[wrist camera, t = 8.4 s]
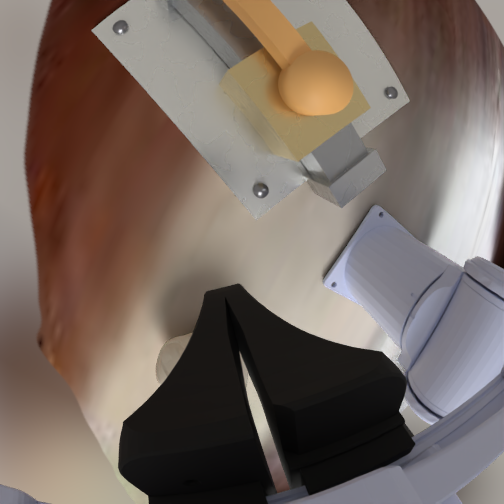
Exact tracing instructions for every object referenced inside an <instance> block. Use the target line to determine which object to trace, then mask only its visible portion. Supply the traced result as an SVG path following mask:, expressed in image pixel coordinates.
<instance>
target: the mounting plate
mask: <svg viewBox="0 0 504 504" xmlns="http://www.w3.org/2000/svg"><path fill="white" fill-rule="evenodd" d="M271 1H272V3H273V4H274V5H275V6H276V7H277V8H278V9H279V10H280V12H281V13H282V14H283V15H284V16H285V17H286V19H287V20H288V21H289V22H290V23H291V25H292V26H293V27H294V28H295V29H297V28H299V27H301V26H303V25H305V24H307V23H309V22H311V21H312V22H313V24H314V25H315V26H316V27H317V29H318V30H319V31H320V32H321V34H322V35H323V36H324V38H325V39H326V40H327V42H328V43H329V44H330V46H331V47H332V48H333V50H334V51H335V53H336V54H337V55H338V57H339V58H340V59H341V60H342V61H343V62H344V63H345V65H346V66H347V67H348V69H349V71H350V73H351V76H352V78H353V79H354V81H355V82H356V84H357V86H358V87H359V89H360V90H361V92H362V94H363V95H364V97H365V99H366V100H367V102H368V104H369V105H370V107H371V108H370V109H369V110H367V111H366V112H364V113H363V114H362V115H360V116H359V117H358V118H356V119H355V120H353V121H352V122H351V123H352V125H353V127H354V128H355V130H356V132H357V134H358V135H359V137H360V138H362V137H363V136H364V135H366V134H367V133H368V132H370V131H371V130H372V129H373V128H375V127H376V126H377V125H379V124H380V123H381V122H383V121H384V120H385V119H387V118H388V117H389V116H391V115H392V114H393V113H395V112H396V111H397V110H399V109H400V108H401V107H403V106H404V105H405V104H407V103H408V102H409V101H410V100H409V98H408V96H407V94H406V92H405V90H404V88H403V86H402V85H401V83H400V81H399V79H398V77H397V76H396V74H395V72H394V70H393V69H392V67H391V65H390V64H389V62H388V60H387V59H386V57H385V55H384V54H383V52H382V50H381V49H380V47H379V46H378V44H377V43H376V41H375V40H374V38H373V37H372V35H371V34H370V32H369V31H368V29H367V28H366V27H365V25H364V24H363V22H362V21H361V20H360V18H359V17H358V15H357V14H356V13H355V11H354V10H353V9H352V8H351V6H350V5H349V4H348V2H347V1H346V0H271ZM91 31H92V32H93V33H94V34H95V35H96V36H97V37H98V38H99V39H100V40H101V41H102V43H103V44H104V45H105V46H106V47H107V48H108V49H109V50H110V51H111V52H112V53H113V55H114V56H115V57H116V58H117V59H118V60H119V61H120V62H121V63H122V64H123V66H124V67H125V68H126V69H127V70H128V71H129V72H130V73H131V75H132V76H133V77H134V78H135V79H136V80H137V81H138V82H139V83H140V85H141V86H142V87H143V88H144V89H145V90H146V91H147V93H148V94H149V95H150V96H151V97H152V98H153V99H154V100H155V102H156V103H157V104H158V105H159V106H160V107H161V108H162V110H163V111H164V112H165V113H166V114H167V115H168V116H169V118H170V119H171V120H172V121H173V122H174V123H175V125H176V126H177V127H178V128H179V129H180V130H181V132H182V133H183V134H184V135H185V136H186V137H187V138H188V140H189V141H190V142H191V143H192V144H193V145H194V147H195V148H196V149H197V150H198V151H199V153H200V154H201V155H202V156H203V157H204V158H205V160H206V161H207V162H208V163H209V164H210V166H211V167H212V168H213V169H214V170H215V171H216V173H217V174H218V175H219V176H220V177H221V179H222V180H223V181H224V182H225V183H226V185H227V186H228V187H229V188H230V189H231V191H232V192H233V193H234V194H235V195H236V197H237V198H238V199H239V200H240V201H241V203H242V204H243V205H244V206H245V207H246V209H247V210H248V211H249V212H250V213H251V215H252V216H253V217H254V218H255V220H257V219H259V218H260V217H261V216H262V215H263V214H265V213H266V212H267V211H268V210H270V209H271V208H272V207H273V206H275V205H276V204H277V203H278V202H280V201H281V200H282V199H283V198H285V197H286V196H287V195H289V194H290V193H291V192H292V191H294V190H295V189H296V188H297V187H299V186H300V185H301V184H302V183H304V182H305V181H306V178H305V176H306V175H307V174H309V172H308V170H307V169H306V167H305V166H304V164H303V163H302V161H301V160H300V161H299V162H297V161H293V160H290V159H287V158H283V157H280V156H276V155H274V153H273V152H272V151H271V149H270V148H269V147H268V145H267V144H266V143H265V141H264V140H263V139H262V138H261V136H260V135H259V134H258V132H257V131H256V130H255V128H254V127H253V126H252V125H251V123H250V122H249V121H248V120H247V118H246V117H245V116H244V115H243V113H242V112H241V111H240V110H239V108H238V107H237V106H236V105H235V103H234V102H233V101H232V100H231V99H230V97H229V96H228V95H227V94H226V92H225V91H224V90H223V89H222V88H221V87H220V85H219V83H220V81H221V80H222V78H223V77H224V75H225V73H226V72H227V70H229V69H230V68H229V66H228V65H227V64H226V63H225V62H224V61H223V59H222V58H221V57H220V56H219V55H218V54H217V53H216V52H215V50H214V49H213V48H212V47H211V46H210V45H209V44H208V43H207V41H206V40H205V39H204V38H203V37H202V36H201V35H200V34H199V33H198V32H197V31H196V30H195V29H194V27H193V26H192V25H191V24H190V23H189V22H188V21H187V20H186V19H185V18H184V17H183V16H182V15H181V14H180V13H179V12H178V11H177V10H176V9H175V8H173V9H171V10H170V11H168V10H167V9H166V8H165V7H164V6H163V5H162V4H161V3H160V2H159V1H158V0H130V1H128V2H127V3H126V4H124V5H123V6H122V7H120V8H119V9H117V10H116V11H115V12H113V13H112V14H111V15H110V16H108V17H107V18H106V19H105V20H103V21H102V22H101V23H100V24H98V25H97V26H96V27H95V28H94V29H92V30H91Z"/></svg>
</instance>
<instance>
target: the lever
mask: <svg viewBox="0 0 504 504" xmlns="http://www.w3.org/2000/svg"><path fill="white" fill-rule="evenodd" d="M223 1H224V2H225V4H226V5H227V6H228V7H229V8H230V9H231V10H232V11H233V12H234V13H235V14H236V15H237V16H238V17H239V18H240V20H241V21H242V22H243V23H244V24H245V25H246V26H247V27H248V28H249V30H250V31H251V32H252V33H253V34H254V35H255V37H256V38H257V39H258V40H259V41H260V42H261V44H262V45H263V46H264V47H265V48H266V50H267V51H268V52H269V53H270V55H271V56H272V57H273V58H274V60H275V61H276V62H277V63H278V65H279V66H280V67H281V69H282V71H281V72H280V75H279V79H278V88H279V92H280V95H281V97H282V99H283V101H284V102H285V104H286V105H287V106H288V107H289V108H290V109H292V110H293V111H295V112H297V113H299V114H302V115H306V116H316V115H329V114H335V113H337V112H339V111H341V110H343V109H344V108H345V107H346V106H347V105H348V103H349V102H350V100H351V98H352V95H353V79H352V76H351V73H350V71H349V69H348V67H347V66H346V65H345V63H344V62H343V61H342V60H341V59H340V58H338V57H337V56H335V55H334V54H332V53H329V52H326V51H321V50H313V51H312V50H311V49H310V47H309V46H308V45H307V43H306V42H305V41H304V39H303V38H302V37H301V36H300V34H299V33H298V32H297V31H296V29H295V28H294V27H293V26H292V25H291V23H290V22H289V21H288V20H287V19H286V17H285V16H284V15H283V14H282V13H281V12H280V10H279V9H278V8H277V7H276V6H275V5H274V4H273V3H272V1H271V0H223Z"/></svg>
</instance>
